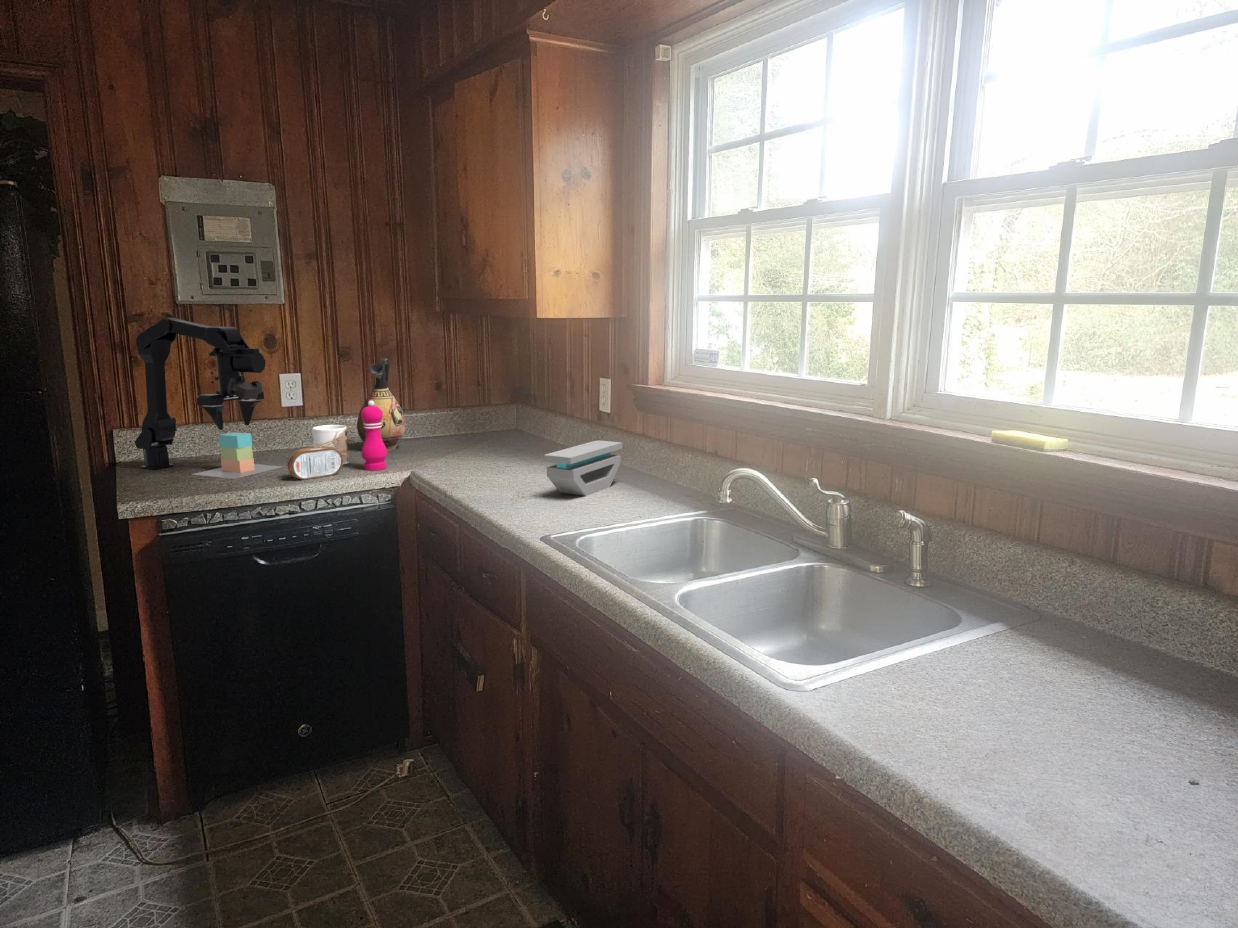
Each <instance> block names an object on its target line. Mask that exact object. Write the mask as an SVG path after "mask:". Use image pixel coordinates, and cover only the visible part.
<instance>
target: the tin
mask: <svg viewBox="0 0 1238 928" xmlns="http://www.w3.org/2000/svg"><path fill="white" fill-rule="evenodd" d="M343 465H344V464H343V457H342V454H341V453H340V452H339V451H338V450H337V449H335V448H333V447H330V446H324V447H315V448H314V447H308V448H299V449H297V450H295V451H294V452H292V453H291V455H290V456H289V458H288V460H287V470H288V473H289V474H290V475H291V476H292V477H294V478H296V479H299V480H303V481H306V480H307V481H308V480H313V479H319V478H326V477H332V476H335V475H337V474H338V473H339V472H340V471H341V469H342V468H343Z"/></svg>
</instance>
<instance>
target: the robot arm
mask: <svg viewBox="0 0 1238 928" xmlns="http://www.w3.org/2000/svg"><path fill="white" fill-rule="evenodd" d="M178 335H180V336H185V337H189V338H193V339H197V340H201V341H203V342H205V343H206V344H207V345H208V346H211V347H213V350H212V351H210V353H209V354H208V355H209V356H210V357H215V361H216V369H217V375H216V376H214V381H217V382H218V390H217V391H215V393H206V394H198V395H197V396H196V405H197V406H200V408H201V409H204V410H205V411H206V413H207V414H208V415H209V416H210V418H211V420H212V421H213V423H214V424H215V426H216V427H217V429H218V430H219V431H223V429H224V421H223V411H224V409H225V405H223V404H224V402H229V401H237V400H238V404H239V407H240V411H241V415H242V420H243V423H244V425H245V426H249V425H250V423H251V420H252V415H253V412H254V410H255V408H256V406H257V405H258V404H259V403H261V402H262V400H265V392H264V391H263V386H262V384H263V383H262V382H261V381H259V380H253V381H251V382H248V381H246V378H245V375H241V373H245V374H246V373H247V374H261V373H263V371H264V370H265V368H266V359H265V357H264V355H263V354H262V353H260V349H259V348H257V347H256V348H255V347H254V348H250V347H249V345H248V344H247V341H245V340H244V337H243V336H242V335H241V334H240V331H239V329H238V328H237V327H234V326H209V325H205V324H202V323H201V324H200V323H197V322H192V321H188V320H184V319H180V318H178V317H163V318H161V319H160V320H159V322H157V323H156V324H154V325H151V326H150V327H149V328H147V329H145V330H143V331H142V332H140V333H139V334H138V335H137V336H136V339H135V343H136V348H137V353H138V355H139V357H140V358H141V359H142V361H143V362H144V370H145V372H144V374H145V386H146V387H145V388H146V403H147V404H146V405H147V412H146V414H145V415H144V418H143V420H142V421H141V422H142V423H141V432H140V433H139V435H138V436H137V438H136V439H135V440H134V446H135V447H136V449H141V450H142V454H143V461H144V465H140V466H139V468H140V469H147V470H149V469H150V470H159V469H165V468H168V467H169V468H170V467H172V466H175V464H174V463H170V457H169V450H168V446H169V445H170V446H171V445H173V442H174V438H175V436H176V432H178V430H177V426H176V425H177V424H176V423H177V419H176V417H171V415H170V414H169V412H168V401H167V382H166V381H167V380H166V364H165V363H166V361H167V360H168V358H169V356H170V354H171V345H172V344H173V343H174V342H175V341H176V340H177V339H178Z"/></svg>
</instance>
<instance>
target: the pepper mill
mask: <svg viewBox="0 0 1238 928" xmlns="http://www.w3.org/2000/svg"><path fill="white" fill-rule="evenodd" d="M368 405H369V406H367V407H365V408H364V409H363V410H362V412H361V418H362V419H363V420H364V422H365V423H364V428H365V430H366V438H365V442H363V445H362V449H361V457H362V459H363V460H364V461H365V462H364V463H363V469H364V470H365V471H381V470H385V469H387V462H386V461H385V459H386V458H387V456H388V451H387V449H386V447H385V445H384V443H383V441H382V438H381V433H380V428H381V427H382V426H381V422H380V421H381V419H382V417H383V413H382V410H381V409H380V408H379V407H377V406H374V401H369V402H368Z"/></svg>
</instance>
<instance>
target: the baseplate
mask: <svg viewBox="0 0 1238 928" xmlns="http://www.w3.org/2000/svg"><path fill="white" fill-rule="evenodd" d="M280 468H283V465H280V466H279V465H269V464H258V463H254V469H255V470H251V471H247V472H242V473H236V472H226V471H222V467H218V468H217V467H216V468H213V469H209V470H205V471H200V472H196V473H195V472H194V473H191V475H194V476H204V477H212V478H221V479H222V478H223V479H231V480H232V479H233V480H235V479H239V478H242V477H247V476H251V475H255V474H256V475H257V474H259V473H263V472H268V471H272V470H277V469H280Z"/></svg>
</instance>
